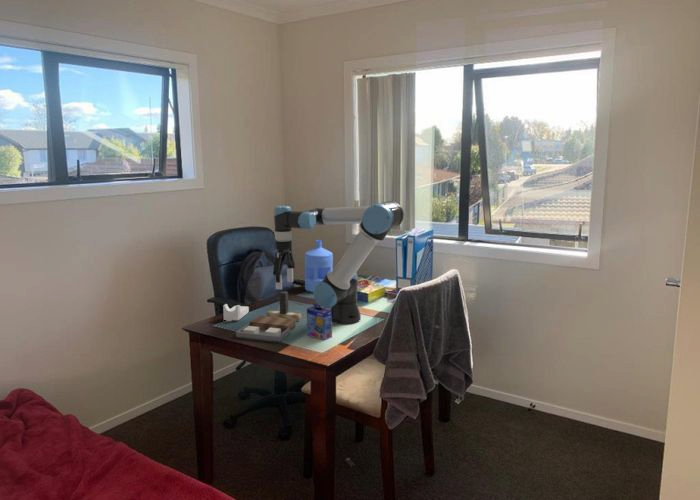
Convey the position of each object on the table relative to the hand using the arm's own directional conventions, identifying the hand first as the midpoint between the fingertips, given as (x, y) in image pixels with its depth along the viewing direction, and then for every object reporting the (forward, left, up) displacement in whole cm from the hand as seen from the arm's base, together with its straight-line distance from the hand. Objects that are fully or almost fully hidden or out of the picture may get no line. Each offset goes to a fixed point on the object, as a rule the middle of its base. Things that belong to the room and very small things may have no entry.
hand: (284, 285), depth 248 cm
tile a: (-4, +24, -16) cm, 29 cm away
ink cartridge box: (-23, +17, -17) cm, 33 cm away
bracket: (+23, +4, -17) cm, 29 cm away
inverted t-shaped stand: (+1, 0, -16) cm, 16 cm away
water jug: (+1, -53, -17) cm, 56 cm away
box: (0, +23, -16) cm, 28 cm away
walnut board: (0, +13, -16) cm, 21 cm away
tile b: (+5, +24, -16) cm, 29 cm away
